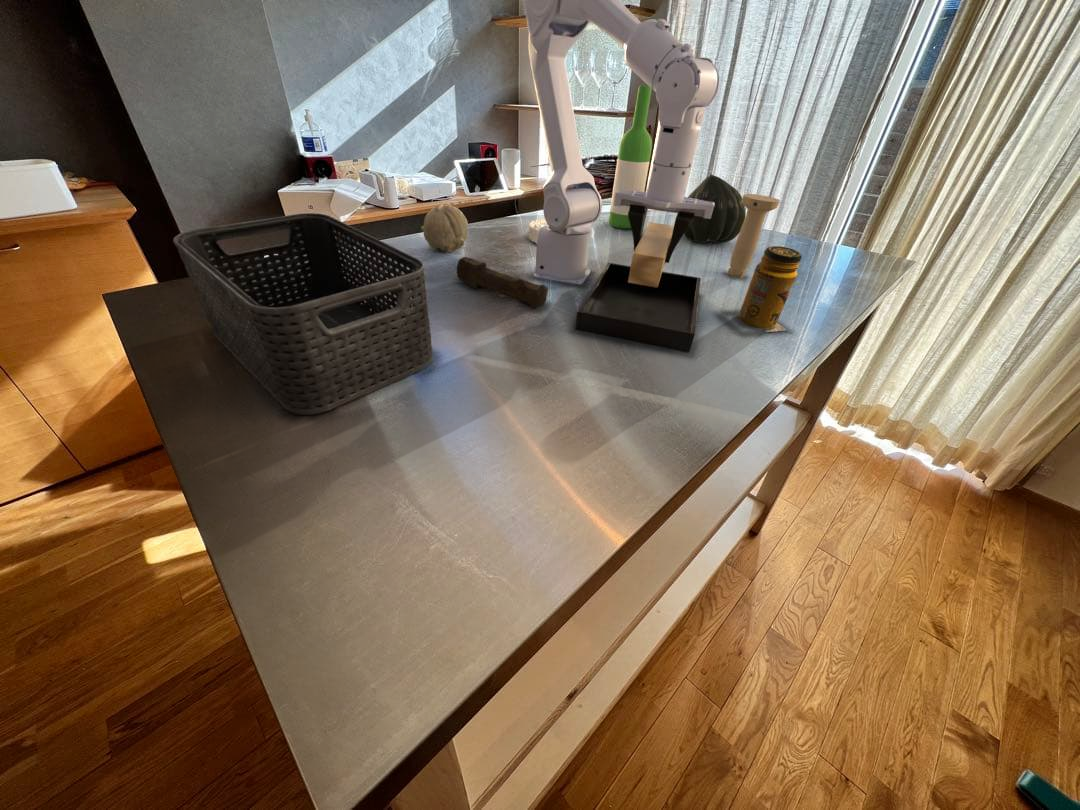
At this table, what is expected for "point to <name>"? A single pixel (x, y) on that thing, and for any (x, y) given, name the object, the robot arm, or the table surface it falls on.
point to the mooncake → (535, 229)
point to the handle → (750, 232)
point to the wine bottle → (632, 159)
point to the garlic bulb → (445, 228)
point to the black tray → (642, 309)
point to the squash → (717, 212)
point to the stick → (650, 255)
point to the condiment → (770, 288)
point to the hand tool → (500, 282)
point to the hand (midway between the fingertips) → (651, 258)
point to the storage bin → (313, 308)
